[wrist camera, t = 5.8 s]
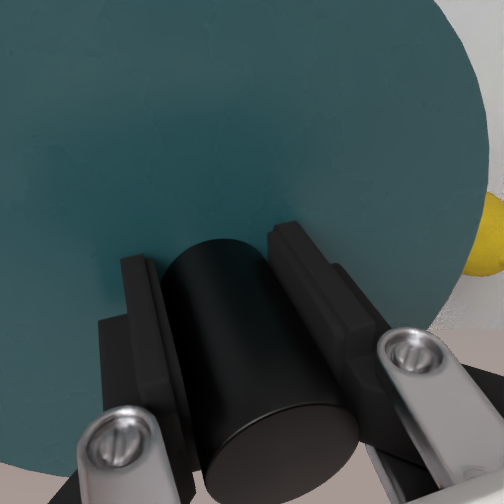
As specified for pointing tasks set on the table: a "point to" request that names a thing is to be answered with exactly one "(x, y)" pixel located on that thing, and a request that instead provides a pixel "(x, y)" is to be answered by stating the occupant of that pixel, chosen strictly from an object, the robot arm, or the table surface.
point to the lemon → (488, 241)
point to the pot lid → (224, 208)
